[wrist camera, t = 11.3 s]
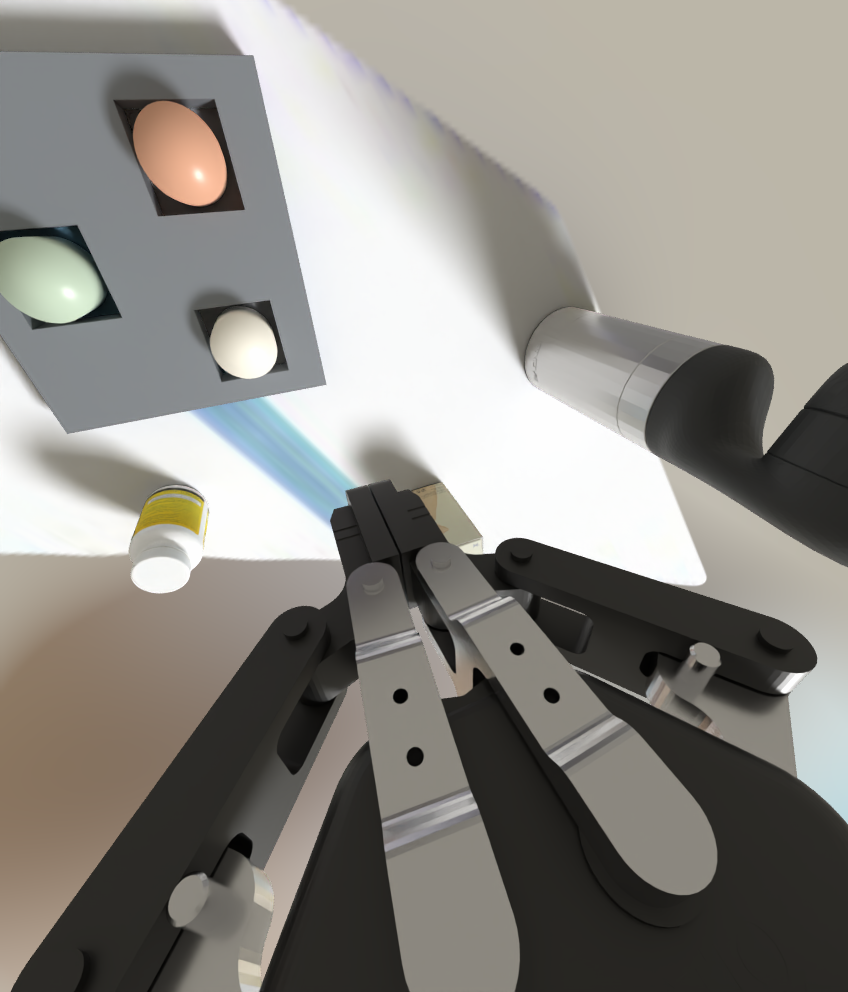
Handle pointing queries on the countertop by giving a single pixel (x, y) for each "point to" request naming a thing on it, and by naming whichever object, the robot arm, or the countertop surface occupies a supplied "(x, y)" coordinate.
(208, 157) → the terracotta button
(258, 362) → the cream piece
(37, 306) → the sage button
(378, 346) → the countertop surface
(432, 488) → the box
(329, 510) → the countertop surface
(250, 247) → the panel
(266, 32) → the countertop surface
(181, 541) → the supplement bottle
